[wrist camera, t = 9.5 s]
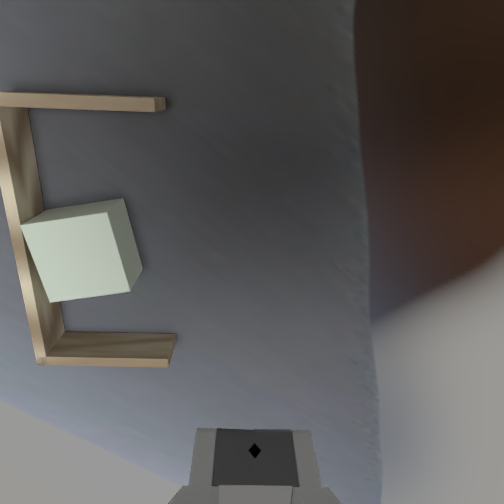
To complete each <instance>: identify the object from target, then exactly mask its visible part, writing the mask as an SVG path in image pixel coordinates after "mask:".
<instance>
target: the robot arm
mask: <svg viewBox="0 0 504 504" xmlns="http://www.w3.org/2000/svg"><path fill="white" fill-rule="evenodd" d="M168 504H342V503H341V502H340V500H339V499H338V498H337V497H336V496H335V495H334V494H333V492H332V491H331V490H330V489H329V488H327V487H322V483H321V478H320V473H319V467H318V462H317V457H316V452H315V447H314V442H313V437H312V433H311V431H310V430H290V429H254V430H245V429H221V428H217V429H214V428H197V431H196V436H195V443H194V450H193V458H192V465H191V472H190V479H189V486H182V487H181V489H180V490H179V491H178V492H177V493H176V495H175V496H174V497H173V498H172V499H171V501H170V502H169V503H168Z"/></svg>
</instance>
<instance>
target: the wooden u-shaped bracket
mask: <svg viewBox="0 0 504 504" xmlns="http://www.w3.org/2000/svg"><path fill="white" fill-rule="evenodd" d="M27 107H30V108H57V109H84V110H110V111H137V112H158V111H162V110H166V109H165V97H142V96H116V95H90V94H64V93H38V92H0V186H1V191H2V196H3V201H4V206H5V210H6V215H7V220H8V225H9V230H10V235H11V240H12V244H13V249H14V254H15V259H16V264H17V269H18V274H19V278H20V283H21V288H22V293H23V298H24V303H25V308H26V312H27V317H28V322H29V327H30V332H31V337H32V342H33V346H34V351H35V356H36V361H37V365H69V366H123V367H169V364H170V360H171V357H172V353H173V349H174V346H175V342H176V338H175V334H159V333H112V332H65V329H64V323H63V317H62V311H61V305H60V301H59V302H51V303H50V301H49V299H48V296H47V294H46V291H45V288H44V286H43V283H42V281H41V278H40V276H39V273H38V270H37V268H36V265H35V263H34V260H33V258H32V255H31V252H30V250H29V247H28V245H27V242H26V240H25V237H24V234H23V232H22V229H21V227H20V225H21V224H23V223H25V222H26V221H28V220H30V219H31V218H33V217H35V216H36V215H38V214H40V213H42V212H43V211H45V210H44V204H43V198H42V192H41V186H40V180H39V174H38V168H37V162H36V156H35V150H34V144H33V138H32V132H31V126H30V120H29V114H28V108H27Z"/></svg>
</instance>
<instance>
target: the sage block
mask: <svg viewBox="0 0 504 504" xmlns="http://www.w3.org/2000/svg"><path fill="white" fill-rule="evenodd" d="M20 227H21V229H22V232H23V234H24V237H25V240H26V242H27V245H28V247H29V250H30V252H31V255H32V258H33V260H34V263H35V265H36V268H37V270H38V273H39V276H40V278H41V281H42V283H43V286H44V288H45V291H46V294H47V296H48V299H49V301H50V303H51V302H59V301H66V300H73V299H80V298H87V297H94V296H102V295H109V294H116V293H123V292H130V291H131V290H132V288H133V286H134V284H135V283H136V281H137V279H138V277H139V276H140V274H141V272H142V270H143V267H142V264H141V260H140V257H139V253H138V249H137V246H136V242H135V238H134V235H133V231H132V228H131V224H130V220H129V217H128V213H127V210H126V206H125V202H124V199H123V198H121V199H114V200H107V201H101V202H94V203H87V204H81V205H74V206H67V207H61V208H54V209H47V210H45V211H43V212H42V213H40V214H38V215H36V216H35V217H33V218H31V219H30V220H28V221H26V222H25V223H23V224H21V225H20Z"/></svg>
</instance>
